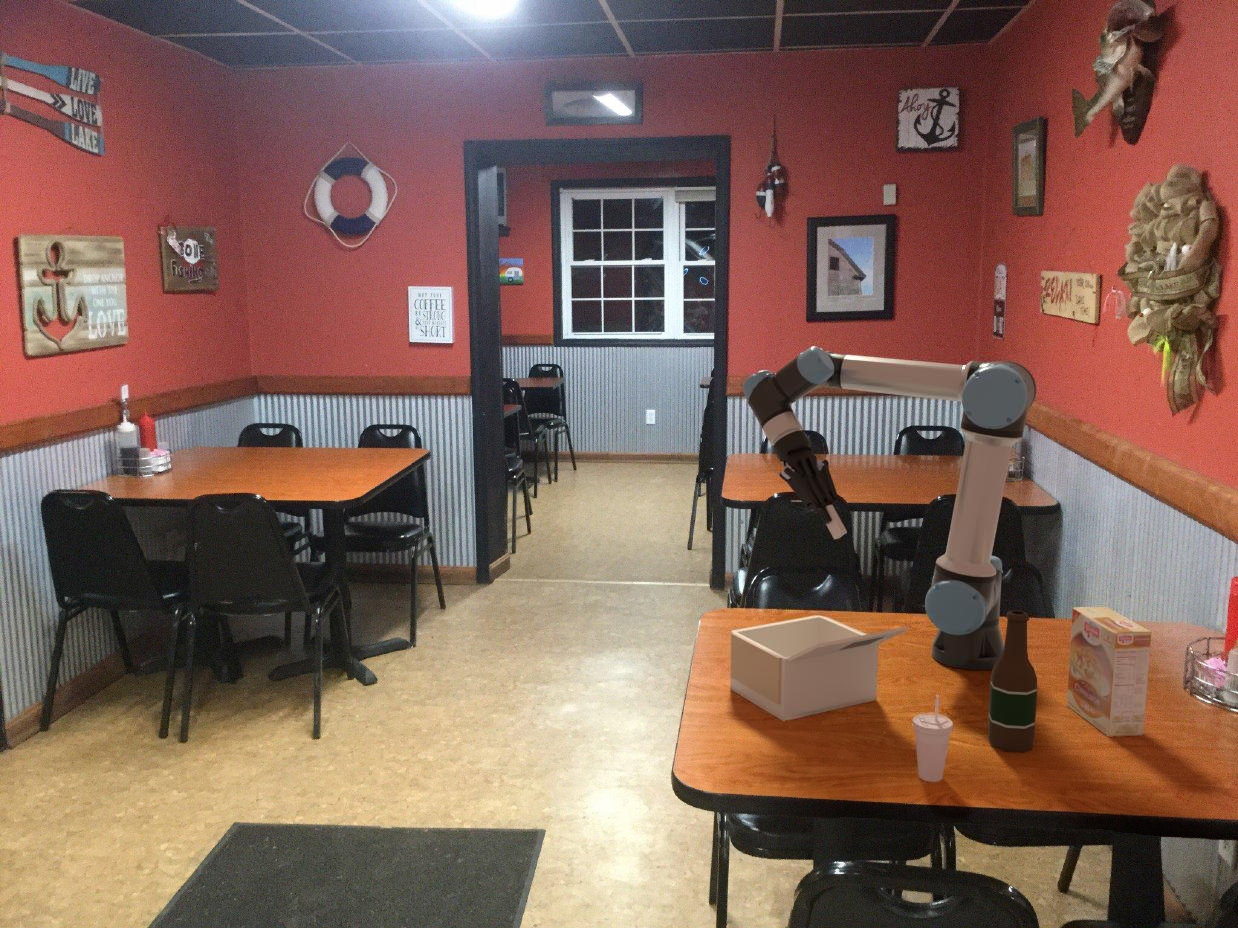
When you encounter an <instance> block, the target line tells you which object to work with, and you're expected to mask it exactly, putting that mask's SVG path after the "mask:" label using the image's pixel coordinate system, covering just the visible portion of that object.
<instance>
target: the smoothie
mask: <svg viewBox="0 0 1238 928" xmlns="http://www.w3.org/2000/svg"><path fill="white" fill-rule="evenodd" d="M934 701H935V703H934V704H935V705H934V713H921V714H917V715H915V716H914V717H912V724H911V725H912V728H913V729H914V736H915V737H914V738H915V747H916V749H915V750H916V758H917V759H916V761H917V773H918V777H919V779H921V780H923V781H925V782H929V783H937V782H940V781H942V780H943V777H944V776H943V775H944V771H945V765H946V759H947V754H948V748H949V743H950V737H951V732H953V730H954V723H953V721H952V719H950V718H949V717H947V716H944V715H941V714H939V707H940V695H939V694H936V695H935V700H934Z"/></svg>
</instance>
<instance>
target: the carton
mask: <svg viewBox="0 0 1238 928" xmlns="http://www.w3.org/2000/svg"><path fill="white" fill-rule="evenodd" d="M867 634H868V633H865V632H863V631H861V630H859V629H856V628H853V627H851V626H849V625H847V624H845V623H842V622H840V621H838V620H836V619H832V618H831V617H828V616H823V615H818V614H816V615H809V616H803V617H799V618H793V619H787V620H781V621H775V622H771V623H770V622H769V623H765V624H759V625H753V626H748V627H743V628H737V629H736V628H735V629H731V631H730V677H729V678H730V687H729V690H731V691H732V692H734V693H736V694H738V695H739V696H741V697H742V698H744V699H746V700H748V701H749V702H751V703H753V704H754V705H755V706H758V707H759V708H761V709H762V710H763V711H766V712H767V713H769V714H771V715H772V716H774V717H776V718H778V720H780V721H782V722H787V721H792V720H795V719H796V720H797V719H800V718H804V717H805V718H806V717H808V716H812V715H813V716H814V715H817V714H822V713H825V712H830V711H835V710H838V709H843V708H847V707H848V708H849V707H852V706H856V705H860V704H861V705H862V704H864V703H869V702H874V701H877V696H878V669H879V668H878V667H879V666H878V665H879V664H878V663H879V644H876V645H871V646H866V647H861V648H856V649H851V650H846V651H841V652H836V653H831V654H826V655H821V656H816V657H811V658H806V659H801V660H796V661H791V662H788V661H787V659H788V658H790V657H792V656H794V655H796V654H798V653H800V652H802V651H804V650H806V649H808V648H810V647H812V646H814V645H816V644H821V643H826V642H831V641H836V640H841V639H846V638H852V637H857V636H862V635H867ZM786 720H787V721H786Z"/></svg>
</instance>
